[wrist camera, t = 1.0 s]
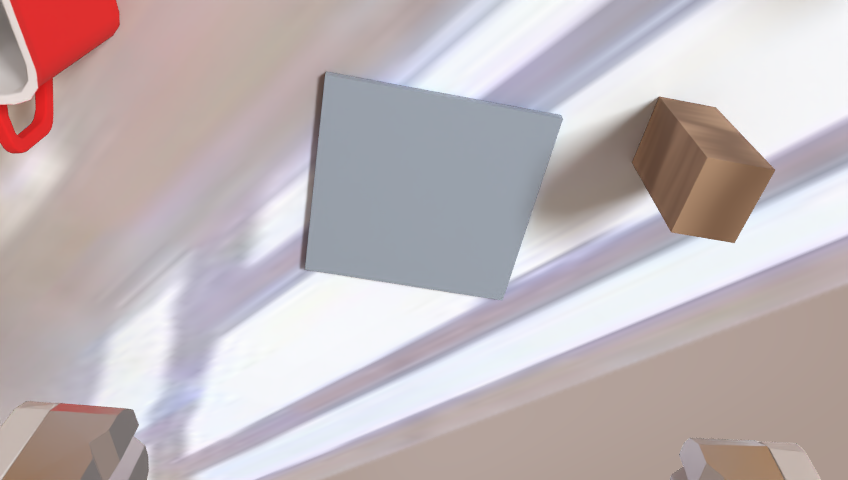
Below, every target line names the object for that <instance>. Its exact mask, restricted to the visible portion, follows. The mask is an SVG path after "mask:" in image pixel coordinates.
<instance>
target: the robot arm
mask: <svg viewBox="0 0 848 480" xmlns="http://www.w3.org/2000/svg"><path fill="white" fill-rule="evenodd" d="M138 426H139V424H138V421H137V419H136V416H135V413H134V411H133V410H131V409H125V408H113V407H101V406H88V405H76V404H64V403H46V402H32V401H26V402H25V403H23V404H21V405H20V406H18V407H17V408H15V409H14V410H13V412H12V413H11V414H10V416H9V417H8V418H7V420H6V421H5V422H4V423H3V425H2V426H1V427H0V480H147V476H148V472H149V467H148V454H147V451H146V447H145V445H144V444H143V443H141V442H140V441H139V440H138V439H137V438H135V437H134V436H133V435H134V434H135V432H136V430H137V428H138ZM679 455H680V458H681V461H682V463H683V466H684V467H682V468H680V469H679V470H677V471H676V472H674V473H673V474H672V475H671V478H670V480H821V478H820V477H819V475H818V473H817V471H816V470H815V468H814V466H813V464H812V463H811V461H810V459H809V458H808V456H807V454H806V452H805V451H804V450H803V449H802V448H801V447H800V446H799V445H798V444H797V443H780V442H762V441H761V442H757V441H752V440H728V439H727V440H726V439H704V438H703V439H702V438H689V439H688V440H687V441H686V442H685V443H684V444H683V447H682V449H681V452H680V454H679Z"/></svg>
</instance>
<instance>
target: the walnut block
mask: <svg viewBox="0 0 848 480" xmlns="http://www.w3.org/2000/svg"><path fill="white" fill-rule="evenodd" d="M632 164H633V165H634V167H635V169H636V171H637V173H638V174H639V176H640V178H641V180H642V181H643V183H644V185H645V187H646V189H647V190H648V192H649V194H650V196H651V197H652V199H653V201H654V203H655V204H656V206H657V208H658V210H659V212H660V213H661V215H662V217H663V219H664V220H665V222H666V224H667V226H668V228H669V229H670V231H671V232H673V233H679V234H685V235H690V236H696V237H702V238H708V239H714V240H720V241H726V242H731V243H735V241H736V239H737V237H738V236H739V234H740V232H741V230H742V228H743V227H744V225H745V223H746V221H747V220H748V218H749V216H750V214H751V212H752V211H753V209H754V207H755V205H756V203H757V202H758V200H759V198H760V196H761V195H762V193H763V191H764V189H765V187H766V186H767V184H768V182H769V180H770V178H771V177H772V175H773V173H774V171H775V169H774V168H773V167H772V166H771V165H770V164H769V163H768V162H767V161H766V160H765V159H764V158H763V157H762V156H761V154H760V153H759V152H758V151H757V150H756V149H755V148H754V147H753V146H752V145H751V144H750V143H749V142H748V141H747V140H746V139H745V138H744V137H743V136H742V135H741V133H740V132H739V131H738V130H737V129H736V128H735V127H734V126H733V125H732V124H731V123H730V122H729V121H728V120H727V119H726V118H725V117H724V116H723V115H722V113H721V112H720V111H719V110H718V109H717V108H716V107H711V106H706V105H701V104H695V103H690V102H685V101H680V100H674V99H669V98H664V97H659V99H658V101H657V103H656V106H655V108H654V111H653V113H652V115H651V118H650V120H649V123H648V125H647V127H646V130H645V132H644V135H643V137H642V140H641V142H640V144H639V147H638V149H637V152H636V154H635V156H634V159H633V161H632Z"/></svg>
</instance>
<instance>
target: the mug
mask: <svg viewBox="0 0 848 480" xmlns="http://www.w3.org/2000/svg"><path fill="white" fill-rule="evenodd" d="M119 25H120V23H119V10H118V6H117V3H116V0H0V143H1V145H2V146H3V148H4V149H5V150H7V151H8V152H10V153H23V152H26V151H28V150H29V149H30V148H31V147H32V146H34V145H35V144H36V143H37V142H39V141H40V140H41V139H42V138H43V137H45V136H46V135H47V134H48V133H49V132H50V130H51V128H52V124H53V77H54V76H56V75H57V74H59V73H60V72H61V71H63V70H64V69H66V68H67V67H69V66H70V65H71V64H73V63H74V62H76V61H77V60H79V59H80V58H81V57H83V56H84V55H86V54H87V53H89V52H90V51H91V50H93V49H94V48H96V47H97V46H99V45H100V44H101V43H103V42H104V41H106V40H107V39H109V38H110V37H111V36H113V35H114V33H115V32H116V30H117V29H118V27H119ZM34 94H35V104H36V110H35V115H34V119H33V121H32V123H31V124H30V125H29V126H28V127H27V128H25V129H24V130H23V131H22V132H21V133H20V134H18V135H17V134H16V133H15V131H14V128H13V126H12V123H11V121H10V118H9V116H8V109H7V105H14V104H19V103H23V102H26V101H29V100H31V99H32V97H33V96H34Z"/></svg>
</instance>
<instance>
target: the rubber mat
mask: <svg viewBox="0 0 848 480" xmlns="http://www.w3.org/2000/svg"><path fill="white" fill-rule="evenodd" d="M562 120H563V118H562V116H561V115H557V114H552V113H546V112H541V111H535V110H530V109H525V108H519V107H514V106H509V105H503V104H498V103H492V102H487V101H482V100H476V99H471V98H466V97H460V96H455V95H449V94H444V93H439V92H433V91H428V90H422V89H417V88H412V87H406V86H401V85H396V84H390V83H385V82H379V81H374V80H369V79H363V78H358V77H353V76H347V75H342V74H336V73H331V72H326V74H325V81H324V91H323V101H322V110H321V120H320V129H319V139H318V149H317V158H316V168H315V178H314V187H313V197H312V206H311V216H310V226H309V235H308V245H307V254H306V264H305V270H312V271H318V272H325V273H331V274H337V275H344V276H350V277H357V278H363V279H369V280H376V281H382V282H389V283H395V284H401V285H408V286H414V287H420V288H427V289H433V290H440V291H446V292H452V293H459V294H465V295H472V296H478V297H484V298H491V299H497V300H503V297H504V294H505V291H506V288H507V285H508V282H509V279H510V276H511V273H512V270H513V267H514V264H515V261H516V258H517V255H518V252H519V249H520V246H521V243H522V240H523V237H524V234H525V231H526V228H527V225H528V222H529V219H530V216H531V213H532V210H533V207H534V204H535V201H536V198H537V195H538V192H539V189H540V186H541V183H542V180H543V177H544V174H545V171H546V168H547V165H548V162H549V159H550V156H551V153H552V150H553V147H554V144H555V141H556V138H557V135H558V132H559V129H560V126H561V123H562Z"/></svg>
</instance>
